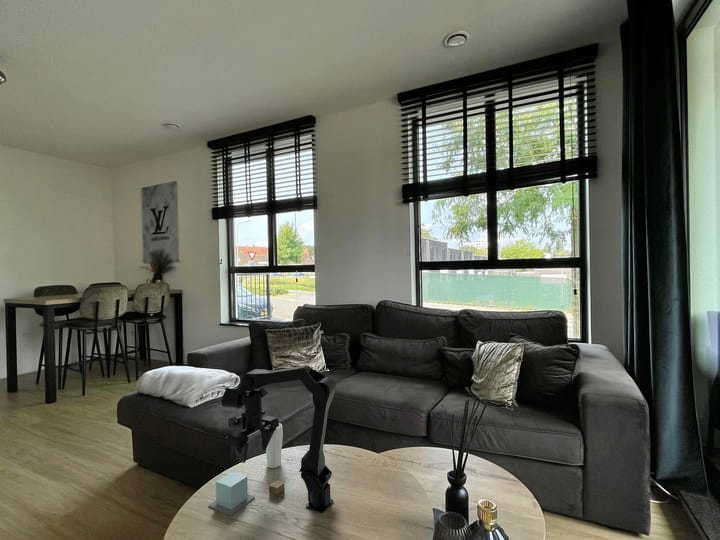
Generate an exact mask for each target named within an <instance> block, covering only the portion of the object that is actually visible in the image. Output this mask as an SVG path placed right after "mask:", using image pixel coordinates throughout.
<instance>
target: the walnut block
mask: <svg viewBox="0 0 720 540" xmlns="http://www.w3.org/2000/svg"><path fill="white" fill-rule="evenodd" d="M268 490H269V491H268V494H269V497H270V498H271V497H272V498H275V499H277V500H278V499H280V498H281V496H283V495H284V494H285V482H284V481H280V480H277V479H276V480H275V481H273V482H272V483H270V484H269V485H268Z"/></svg>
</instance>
